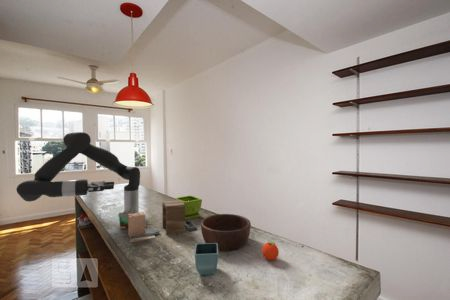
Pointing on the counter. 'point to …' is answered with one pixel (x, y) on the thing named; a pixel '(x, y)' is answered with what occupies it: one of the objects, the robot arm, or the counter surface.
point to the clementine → (270, 251)
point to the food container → (125, 218)
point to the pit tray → (190, 225)
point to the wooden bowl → (226, 231)
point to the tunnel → (173, 216)
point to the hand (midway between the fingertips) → (114, 185)
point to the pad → (141, 238)
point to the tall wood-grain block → (139, 226)
